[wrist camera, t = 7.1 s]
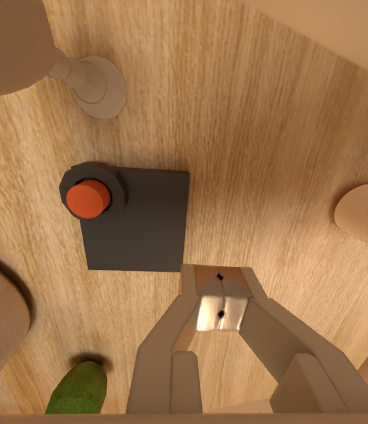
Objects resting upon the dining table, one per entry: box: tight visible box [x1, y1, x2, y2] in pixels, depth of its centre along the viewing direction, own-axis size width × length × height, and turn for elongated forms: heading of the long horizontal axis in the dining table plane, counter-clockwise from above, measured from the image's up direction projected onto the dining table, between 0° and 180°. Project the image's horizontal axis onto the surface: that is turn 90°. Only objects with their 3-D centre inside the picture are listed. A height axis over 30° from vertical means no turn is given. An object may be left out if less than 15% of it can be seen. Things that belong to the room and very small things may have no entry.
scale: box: [59, 162, 190, 272], centre depth 21 cm, size 14×12×3 cm
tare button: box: [66, 180, 110, 218], centre depth 17 cm, size 3×3×2 cm
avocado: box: [45, 361, 107, 414], centre depth 28 cm, size 8×8×12 cm
